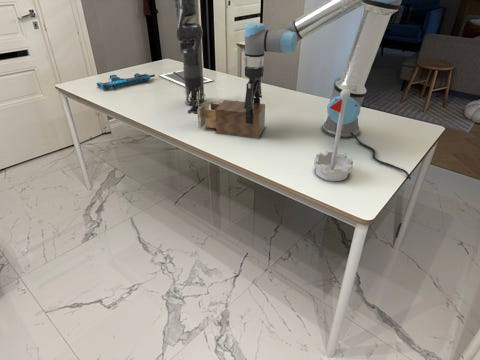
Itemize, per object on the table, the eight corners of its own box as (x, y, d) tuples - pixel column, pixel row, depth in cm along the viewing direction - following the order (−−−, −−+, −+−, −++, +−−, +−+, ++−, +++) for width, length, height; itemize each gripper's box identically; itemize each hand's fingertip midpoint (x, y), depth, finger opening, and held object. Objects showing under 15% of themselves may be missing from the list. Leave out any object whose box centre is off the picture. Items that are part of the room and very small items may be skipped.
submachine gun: (140, 68, 226) (159, 74, 209) (142, 73, 228) (160, 80, 211) (89, 77, 207) (104, 85, 190) (90, 84, 209) (106, 92, 192)
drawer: (186, 126, 151) (184, 107, 147) (195, 117, 160) (194, 99, 155) (236, 132, 146) (235, 113, 141) (242, 123, 154) (242, 104, 149)
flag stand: (336, 160, 127) (350, 81, 111) (358, 178, 117) (377, 93, 101) (306, 167, 123) (316, 85, 107) (326, 186, 113) (340, 99, 97)
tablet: (159, 75, 221) (159, 75, 220) (185, 70, 232) (185, 69, 231) (186, 87, 200) (186, 86, 200) (213, 80, 211) (213, 80, 211)
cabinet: (216, 133, 148) (215, 109, 142) (225, 122, 157) (224, 99, 151) (258, 138, 144) (259, 113, 138) (264, 127, 153) (265, 104, 147)
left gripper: (190, 70, 149) (193, 107, 159) (178, 78, 139) (182, 118, 148) (206, 71, 148) (208, 109, 157) (195, 79, 137) (198, 119, 146)
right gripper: (252, 58, 144) (251, 107, 156) (236, 73, 125) (236, 127, 137) (269, 59, 143) (267, 108, 154) (255, 75, 123) (254, 130, 135)
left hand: (196, 113), depth 153 cm, fingers closed
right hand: (253, 117), depth 146 cm, fingers closed on cabinet, 12 cm apart
